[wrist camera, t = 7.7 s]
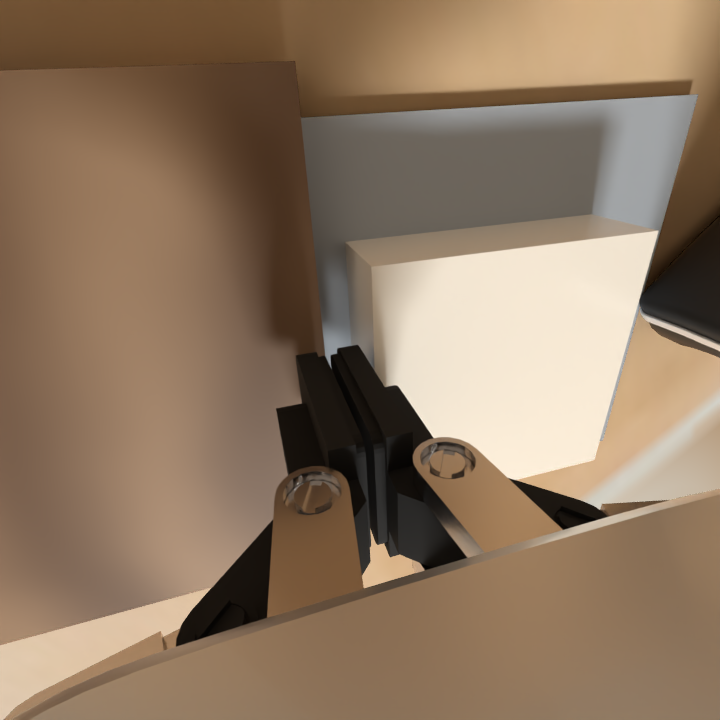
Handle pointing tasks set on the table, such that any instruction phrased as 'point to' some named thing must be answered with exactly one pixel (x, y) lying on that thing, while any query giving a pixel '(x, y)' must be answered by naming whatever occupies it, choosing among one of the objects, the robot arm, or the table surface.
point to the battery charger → (689, 295)
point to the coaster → (503, 330)
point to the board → (145, 328)
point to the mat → (484, 176)
